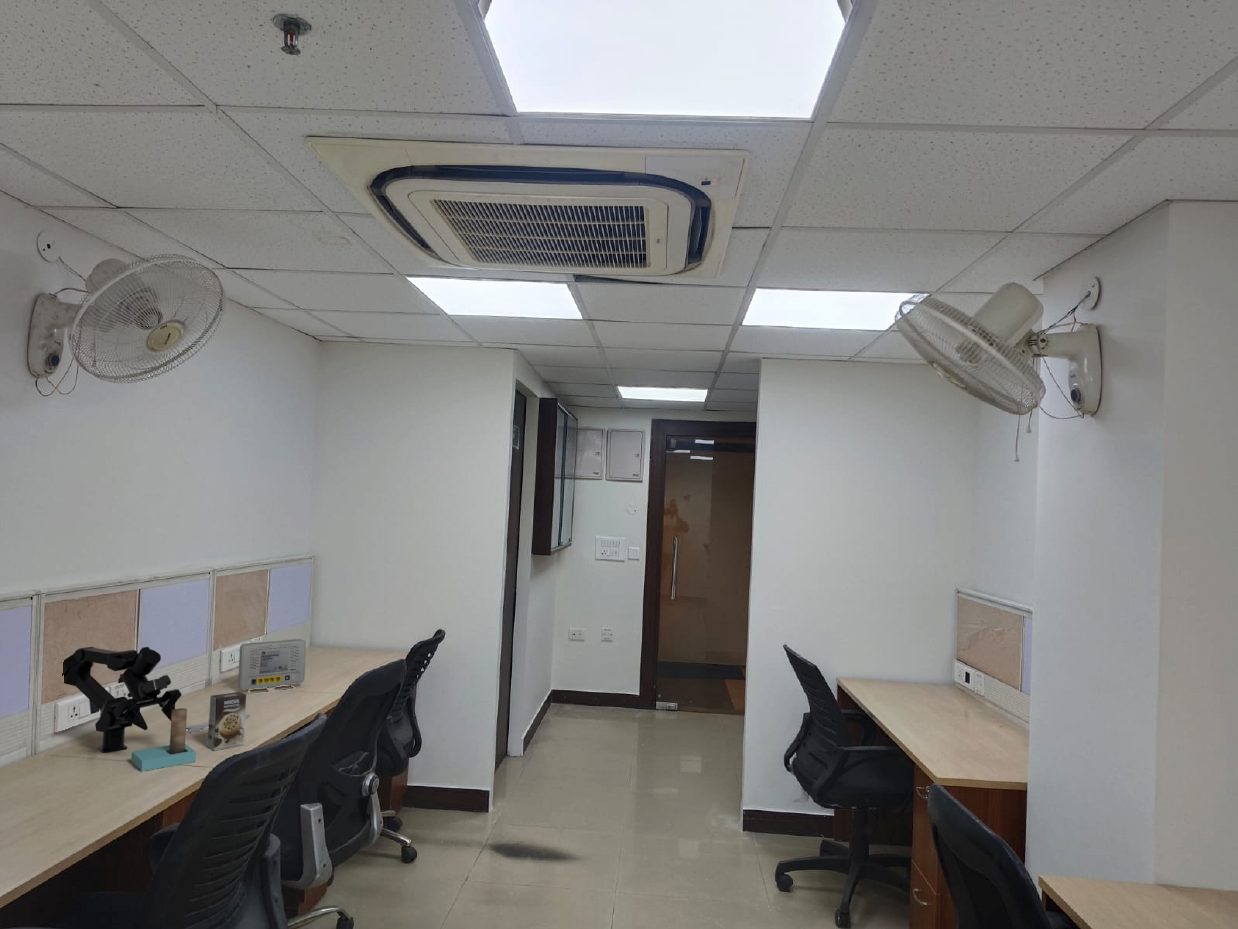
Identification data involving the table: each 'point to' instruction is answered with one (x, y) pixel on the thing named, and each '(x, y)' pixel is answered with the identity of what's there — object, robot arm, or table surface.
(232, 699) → the brown cookie box
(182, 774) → the table surface
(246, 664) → the network device
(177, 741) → the peg
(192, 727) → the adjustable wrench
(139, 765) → the holder block
